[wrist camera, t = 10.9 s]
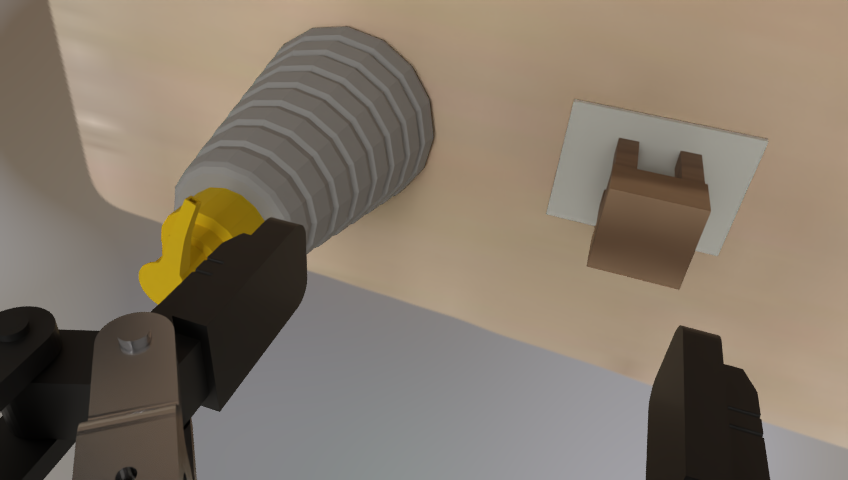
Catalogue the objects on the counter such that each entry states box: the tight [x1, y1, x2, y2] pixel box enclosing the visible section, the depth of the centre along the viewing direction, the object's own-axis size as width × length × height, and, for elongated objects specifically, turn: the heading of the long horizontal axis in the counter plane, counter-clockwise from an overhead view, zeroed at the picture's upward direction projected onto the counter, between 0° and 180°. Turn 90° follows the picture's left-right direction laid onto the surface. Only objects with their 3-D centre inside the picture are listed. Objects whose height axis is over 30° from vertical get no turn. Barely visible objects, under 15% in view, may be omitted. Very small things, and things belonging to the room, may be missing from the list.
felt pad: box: [546, 99, 768, 256], centre depth 40 cm, size 8×11×1 cm
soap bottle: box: [139, 27, 434, 305], centre depth 36 cm, size 12×12×20 cm
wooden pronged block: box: [587, 138, 711, 289], centre depth 37 cm, size 5×5×7 cm
